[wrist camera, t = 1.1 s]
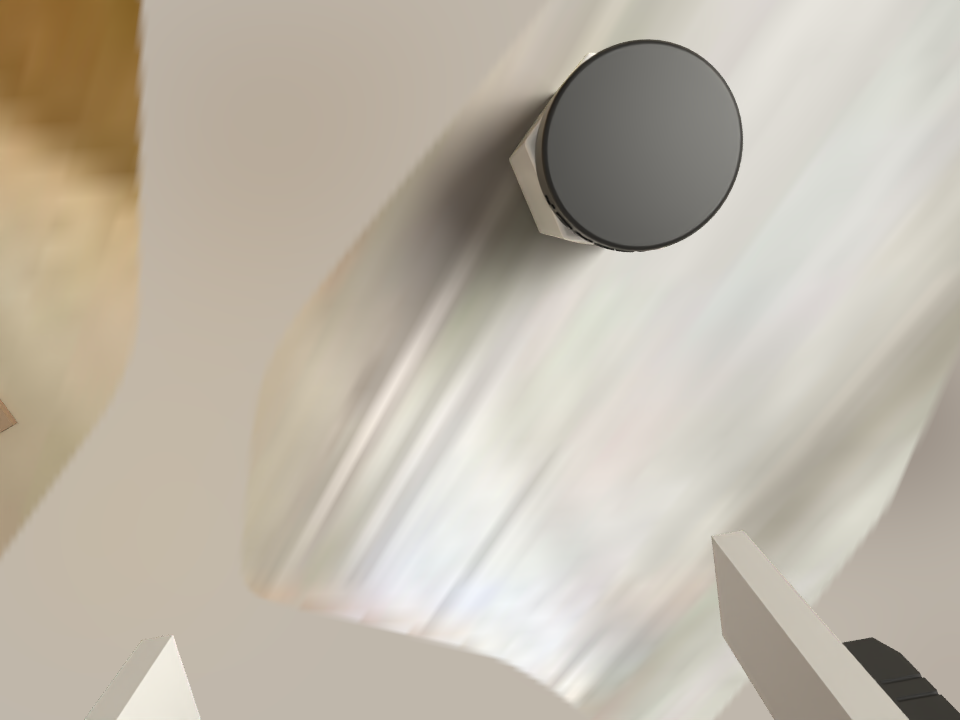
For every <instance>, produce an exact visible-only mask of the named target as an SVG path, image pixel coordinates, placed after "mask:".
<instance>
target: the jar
mask: <svg viewBox="0 0 960 720" xmlns="http://www.w3.org/2000/svg"><path fill="white" fill-rule="evenodd" d="M742 150H743V131H742V123H741V117H740V113H739V109H738V106H737V103H736V101H735V98H734V96H733V94H732V92H731V90H730V88H729V86H728V85H727V83H726V81H725V80H724V79H723V77H722V76H721V75H720V73H719V72H718V71H717V70H716V69H715V68H714V67H713V66H712V65H711V64H710V63H709V62H708V61H706V60H705V59H704V58H703V57H701V56H700V55H698V54H697V53H695V52H693V51H691V50H690V49H688V48H685V47H683V46H680V45H678V44H674V43H671V42H667V41H661V40H650V39H647V40H633V41H627V42H623V43H619V44H616V45H613V46H611V47H608V48H606V49H604V50H602V51H600V52H598V53H588V54H586V55H585V56H584V58H583V59H582V60H581V61H580V63H579V64H578V65H577V66H576V68H575V69H574V70H573V71H572V73H571V74H570V75H569V76H568V77H567V79H566V80H565V81H564V82H563V84H562V85H561V86H560V87H559V89H558V90H557V91H556V92H555V94H554V95H553V97H552V98H551V99H550V101H549V102H548V104H547V105H546V106H545V108H544V109H543V111H542V112H541V114H540V115H539V116H538V118H537V119H536V121H535V122H534V124H533V125H532V126H531V128H530V129H529V131H528V132H527V133H526V135H525V136H524V138H523V139H522V141H521V142H520V143H519V145H518V146H517V148H516V149H515V150H514V152H513V153H512V155H511V156H510V159H509V161H510V163H511V166H512V168H513V171H514V173H515V175H516V178H517V180H518V183H519V185H520V187H521V190H522V192H523V194H524V197H525V199H526V202H527V204H528V206H529V209H530V211H531V214H532V216H533V218H534V221H535V223H536V226H537V228H538V230H539V232H540V233H542V234H545V235H549V236H553V237H557V238H561V239H565V240H570V241H572V242H576V243H583V244H591V245H596V246H600V247H603V248H606V249H610V250H614V249H615V250H616V251H621V252H634V251H638V252H643V251H649V250H655V249H657V250H661V249H663V248H665V247H667V246H670V245H672V244H675V243H677V242H679V241H681V240H683V239H685V238H687V237H689V236H690V235H692V234H693V233H695V232H696V231H698V230H699V229H700V228H701V227H703V226H704V225H705V224H706V223H707V222H708V221H709V220H710V219H711V218H712V217H713V216H714V215H715V214H716V213H717V211H718V210H719V209H720V208H721V206H722V205H723V203H724V202H725V200H726V199H727V197H728V195H729V193H730V191H731V189H732V187H733V185H734V182H735V180H736V177H737V174H738V171H739V167H740V163H741V157H742Z"/></svg>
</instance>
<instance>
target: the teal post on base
mask: <svg viewBox="0 0 960 720" xmlns="http://www.w3.org/2000/svg"><path fill="white" fill-rule="evenodd" d="M16 423H17V422H16V420H15V419H14V417H13V416H12V415H11V413H10V412H9V411H8V409H7V408H6V407H5V405H4V404H3V402H2V401H1V400H0V432H2V431H4V430H5V429H7V428H9V427H11V426H13V425H14V424H16Z"/></svg>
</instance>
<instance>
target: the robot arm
mask: <svg viewBox="0 0 960 720" xmlns="http://www.w3.org/2000/svg"><path fill="white" fill-rule="evenodd" d="M711 537H712V546H713V555H714V564H715V573H716V582H717V590H718V599H719V608H720V617H721V626H722V635H723V637H724V639H725V640H726V642H727V644H728V645H729V647H730V648H731V650H732V652H733V653H734V655H735V657H736V658H737V660H738V661H739V663H740V665H741V666H742V668H743V670H744V671H745V673H746V674H747V676H748V678H749V679H750V681H751V683H752V684H753V686H754V688H755V689H756V691H757V692H758V694H759V696H760V697H761V699H762V700H763V702H764V704H765V705H766V707H767V709H768V710H769V712H770V714H771V715H772V717H773V718H774V720H960V713H959V712H958V711H957V710H956V709H955V708H954V707H953V706H952V705H951V704H950V703H949V702H948V701H947V700H946V699H945V698H944V697H943V696H942V695H939V694H938V692H937V690H936V689H935V688H934V687H933V686H932V685H931V684H930V683H929V682H928V681H927V680H926V679H925V678H922V677H921V675H920V673H919V672H918V671H917V670H916V669H915V668H914V667H913V666H912V664H910V662H909V661H907V660H906V658H904V657H903V655H902V654H901V653H899V652H897V651H895V650H894V649H892V648H890V647H889V646H887V645H885V644H883V643H881V642H880V641H878V640H876V639H874V638H866V639H861V640H856V641H850V642H844V643H842V642H841V641H840V640H839V639H838V638H837V637H836V636H835V635H834V633H833V632H832V631H831V630H830V629H829V628H828V626H827V625H826V624H825V623H824V622H823V621H822V620H821V618H820V617H819V616H818V615H817V614H816V613H815V612H814V610H813V609H812V608H811V607H810V606H809V605H808V604H807V603H806V601H805V600H804V599H803V598H802V597H801V596H800V595H799V593H798V592H797V591H796V590H795V589H794V588H793V587H792V585H791V584H790V583H789V582H788V581H787V580H786V579H785V577H784V576H783V575H782V574H781V573H780V572H779V571H778V569H777V568H776V567H775V566H774V565H773V564H772V563H771V561H770V560H769V559H768V558H767V557H766V556H765V555H764V553H763V552H762V551H761V550H760V549H759V548H758V547H757V545H756V544H755V543H754V542H753V541H752V540H751V539H750V537H749V536H748V535H747V534H746V533H745V532H744V531H743V530H741V531H736V532H730V533H725V534H719V535H714V536H711ZM84 720H201V718H200V715H199V712H198V709H197V706H196V703H195V700H194V697H193V694H192V691H191V688H190V685H189V682H188V679H187V676H186V673H185V670H184V667H183V664H182V661H181V658H180V655H179V652H178V649H177V646H176V643H175V640H174V637H173V635H167V636H161V637H156V638H151V639H145V640H141V642H140V643H139V644H138V646H137V647H136V649H135V650H134V651H133V653H132V654H131V656H130V657H129V658H128V660H127V661H126V662H125V664H124V665H123V667H122V668H121V669H120V671H119V672H118V673H117V675H116V676H115V678H114V679H113V681H112V682H111V683H110V685H109V686H108V687H107V689H106V690H105V692H104V693H103V694H102V696H101V697H100V698H99V700H98V701H97V703H96V704H95V705H94V707H93V708H92V710H91V711H90V712H89V714H88V715H87V716H86V718H85V719H84Z"/></svg>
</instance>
